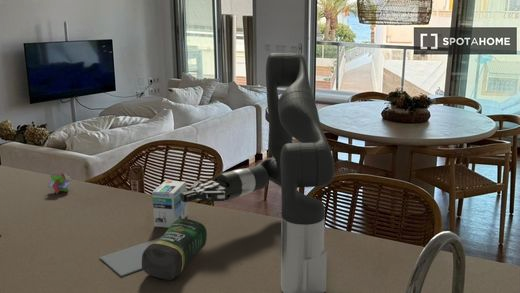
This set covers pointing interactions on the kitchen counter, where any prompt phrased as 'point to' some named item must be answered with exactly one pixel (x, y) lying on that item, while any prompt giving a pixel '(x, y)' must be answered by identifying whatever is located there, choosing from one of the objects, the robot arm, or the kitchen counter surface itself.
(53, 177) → the geometric puzzle
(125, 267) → the grey flat rectangular panel
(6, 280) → the kitchen counter surface
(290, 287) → the robot arm
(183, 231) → the coffee jar
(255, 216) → the kitchen counter surface
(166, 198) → the light bulb box
